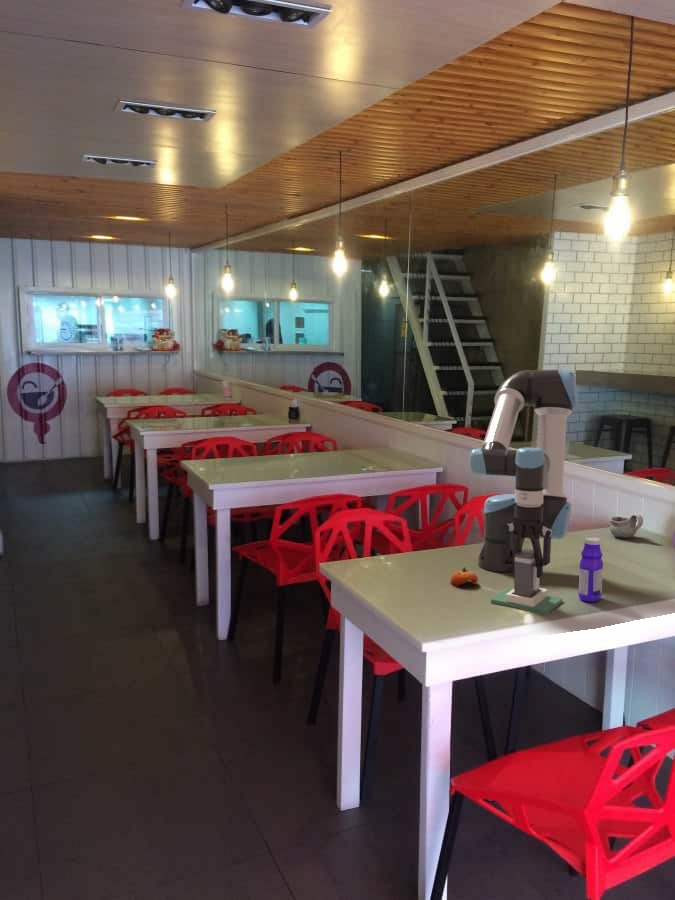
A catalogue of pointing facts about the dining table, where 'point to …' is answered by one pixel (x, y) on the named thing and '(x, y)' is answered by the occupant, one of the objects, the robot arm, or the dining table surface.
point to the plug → (524, 573)
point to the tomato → (463, 577)
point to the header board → (528, 601)
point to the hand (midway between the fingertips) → (527, 586)
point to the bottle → (591, 571)
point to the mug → (625, 525)
